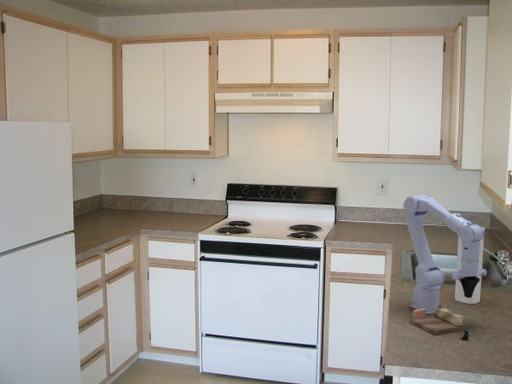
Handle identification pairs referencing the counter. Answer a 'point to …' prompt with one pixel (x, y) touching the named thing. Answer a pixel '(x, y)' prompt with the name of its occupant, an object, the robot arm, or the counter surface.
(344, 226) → the counter surface
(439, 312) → the hinged leg
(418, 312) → the block
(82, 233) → the counter surface
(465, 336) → the sculpture
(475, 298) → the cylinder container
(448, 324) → the board
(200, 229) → the counter surface
